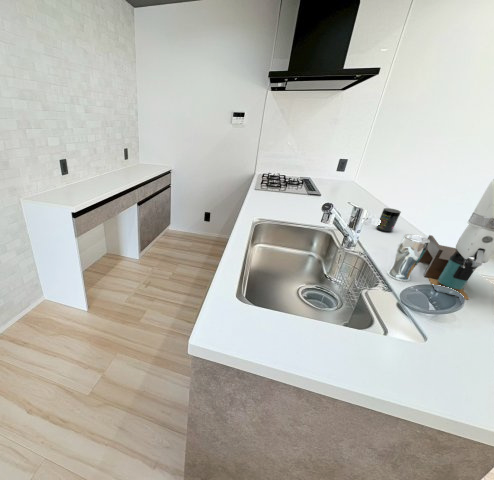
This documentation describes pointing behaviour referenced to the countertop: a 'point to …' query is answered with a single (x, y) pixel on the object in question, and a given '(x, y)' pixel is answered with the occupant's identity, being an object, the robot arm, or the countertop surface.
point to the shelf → (436, 258)
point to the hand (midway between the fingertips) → (456, 273)
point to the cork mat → (436, 282)
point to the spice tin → (452, 273)
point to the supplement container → (388, 219)
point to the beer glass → (408, 256)
